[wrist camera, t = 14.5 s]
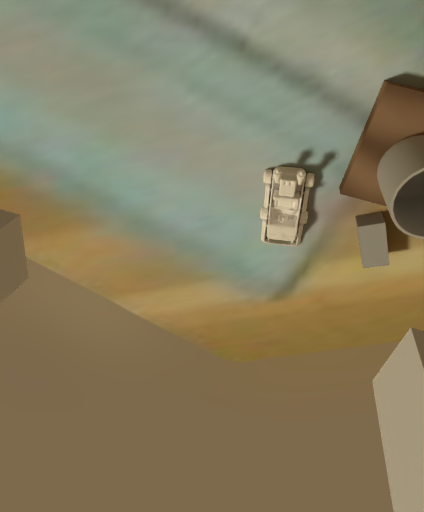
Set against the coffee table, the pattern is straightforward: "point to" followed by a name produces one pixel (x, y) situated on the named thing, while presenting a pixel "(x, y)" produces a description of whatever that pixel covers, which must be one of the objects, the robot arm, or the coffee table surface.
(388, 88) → the walnut block
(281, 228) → the toy car
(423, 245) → the coffee table surface
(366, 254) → the grey brick
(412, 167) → the cup
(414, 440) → the robot arm
